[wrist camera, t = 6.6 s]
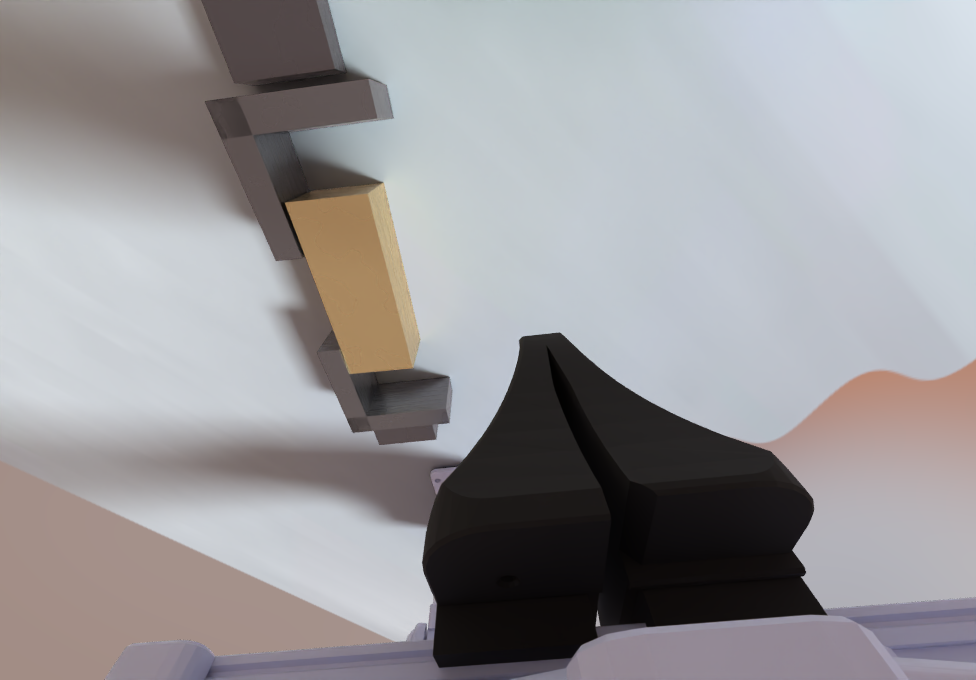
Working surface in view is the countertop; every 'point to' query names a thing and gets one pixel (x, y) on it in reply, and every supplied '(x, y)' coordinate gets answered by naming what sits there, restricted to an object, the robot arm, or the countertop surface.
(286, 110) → the chain end blocks
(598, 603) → the robot arm
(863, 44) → the countertop surface
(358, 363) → the light wood block
